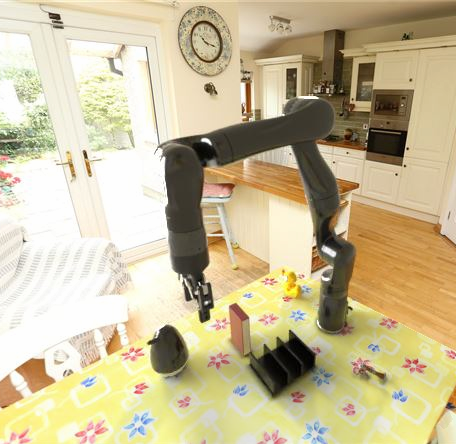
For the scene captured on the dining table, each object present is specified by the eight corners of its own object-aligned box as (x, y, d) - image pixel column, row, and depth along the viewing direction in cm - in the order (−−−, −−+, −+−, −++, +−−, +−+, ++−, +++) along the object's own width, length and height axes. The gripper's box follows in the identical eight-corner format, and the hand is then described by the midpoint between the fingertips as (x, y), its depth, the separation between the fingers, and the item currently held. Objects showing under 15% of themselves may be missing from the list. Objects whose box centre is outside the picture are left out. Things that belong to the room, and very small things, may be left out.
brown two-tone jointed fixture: (352, 369, 84) (361, 360, 82) (377, 381, 84) (386, 372, 82) (353, 375, 82) (361, 365, 80) (378, 387, 82) (387, 377, 80)
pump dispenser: (145, 372, 83) (134, 332, 77) (175, 347, 91) (167, 309, 85) (168, 390, 78) (159, 348, 72) (197, 362, 86) (191, 323, 80)
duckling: (276, 289, 119) (276, 269, 115) (286, 284, 122) (287, 264, 118) (294, 304, 111) (295, 282, 107) (305, 298, 114) (306, 277, 110)
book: (238, 336, 96) (236, 302, 90) (251, 352, 90) (249, 317, 84) (231, 340, 94) (228, 305, 88) (243, 356, 88) (241, 321, 83)
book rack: (290, 341, 94) (290, 328, 92) (315, 367, 85) (316, 353, 83) (248, 366, 85) (248, 352, 83) (272, 397, 76) (272, 383, 74)
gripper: (221, 254, 55) (227, 321, 61) (193, 228, 65) (201, 287, 72) (182, 267, 50) (192, 337, 57) (158, 237, 61) (170, 299, 67)
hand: (197, 309), depth 64 cm, fingers open, 8 cm apart
